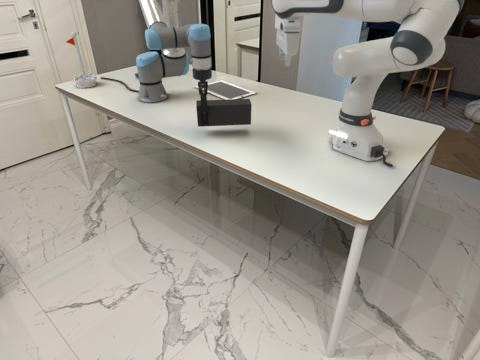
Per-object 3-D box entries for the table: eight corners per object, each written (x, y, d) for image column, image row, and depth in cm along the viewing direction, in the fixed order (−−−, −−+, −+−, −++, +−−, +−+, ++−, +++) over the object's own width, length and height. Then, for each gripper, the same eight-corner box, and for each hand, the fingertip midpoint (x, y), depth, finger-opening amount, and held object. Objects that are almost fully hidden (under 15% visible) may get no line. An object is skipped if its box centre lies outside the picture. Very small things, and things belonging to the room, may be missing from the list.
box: (249, 118, 150) (249, 98, 145) (251, 124, 145) (251, 104, 139) (197, 120, 148) (196, 100, 143) (197, 126, 143) (196, 106, 137)
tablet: (194, 87, 200) (194, 86, 200) (221, 80, 211) (221, 79, 211) (229, 101, 180) (229, 101, 180) (256, 93, 191) (256, 92, 191)
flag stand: (97, 80, 212) (85, 28, 195) (98, 86, 202) (85, 32, 185) (75, 83, 208) (61, 30, 191) (74, 89, 198) (59, 34, 181)
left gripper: (192, 61, 140) (196, 113, 153) (191, 75, 124) (196, 132, 137) (210, 61, 141) (212, 113, 154) (212, 75, 125) (214, 131, 138)
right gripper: (273, 18, 130) (271, 56, 137) (284, 27, 113) (282, 69, 120) (289, 18, 130) (286, 55, 138) (303, 27, 113) (299, 69, 121)
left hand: (205, 122), depth 145 cm, fingers closed on box, 6 cm apart
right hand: (284, 62), depth 129 cm, fingers open, 8 cm apart
